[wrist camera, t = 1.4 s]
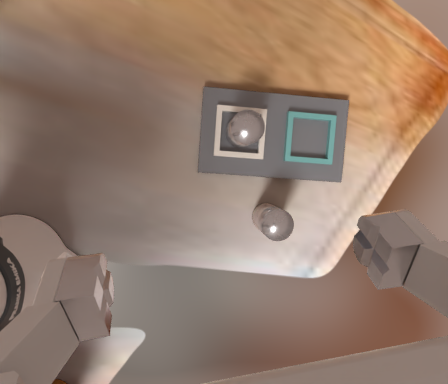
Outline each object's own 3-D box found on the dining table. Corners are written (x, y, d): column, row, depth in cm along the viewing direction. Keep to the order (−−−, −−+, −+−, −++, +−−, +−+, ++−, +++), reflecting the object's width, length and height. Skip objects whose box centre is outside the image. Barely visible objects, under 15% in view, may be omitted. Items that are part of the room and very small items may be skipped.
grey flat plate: (337, 181, 57) (344, 182, 54) (197, 172, 54) (198, 172, 52) (344, 102, 56) (351, 99, 53) (203, 88, 54) (204, 84, 51)
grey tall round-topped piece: (252, 148, 53) (263, 145, 45) (224, 146, 53) (229, 142, 45) (255, 119, 53) (266, 111, 45) (226, 116, 53) (232, 108, 45)
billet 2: (278, 231, 56) (292, 241, 48) (251, 229, 56) (260, 240, 48) (280, 204, 56) (295, 210, 48) (253, 202, 56) (263, 208, 48)
